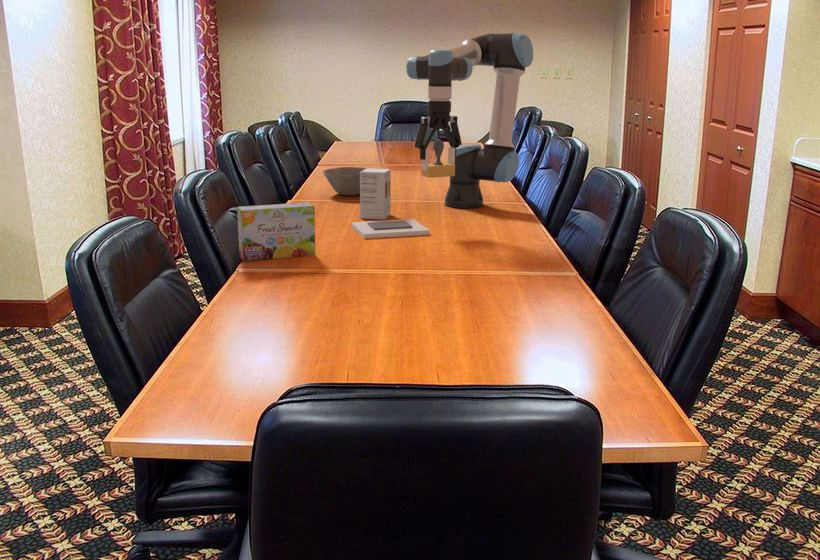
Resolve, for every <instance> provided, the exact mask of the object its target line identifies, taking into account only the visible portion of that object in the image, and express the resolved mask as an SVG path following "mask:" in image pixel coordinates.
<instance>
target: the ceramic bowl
mask: <svg viewBox="0 0 820 560" xmlns="http://www.w3.org/2000/svg"><path fill="white" fill-rule="evenodd" d="M365 169H370V167H369V168H366V167H360V166H359V167H358V166H356V167H355V166H345V167H343V166H341V167H334V168H328V169H327V168H326V169H324V170H322V173H323V175H324V176H325V178H326V180H327V181H328V183H329V184H330V186H331V188H332V189H333V191H335V192H336V193H337V194H338V195H342V196H358V195H360V172H361V171H363V170H365Z"/></svg>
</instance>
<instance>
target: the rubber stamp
mask: <svg viewBox="0 0 820 560" xmlns="http://www.w3.org/2000/svg"><path fill="white" fill-rule="evenodd" d="M432 145H433V146H432V147H433V151H434V154H435V159H436V161H435V162H434V163H428V170H422V169H420V170H421V171H420V173H421V175H420V176H423V177H426V178H429V179H431V178H432V179H433V178H446V177H450V176H455V165H453V164H449V163H448V162H443V163H442V160H441V156H442V155H443V151H444V149H445V144H444V141H443V140H442V139H440V138H439V139H435V141H434V142H433V144H432Z"/></svg>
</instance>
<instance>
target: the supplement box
mask: <svg viewBox="0 0 820 560" xmlns="http://www.w3.org/2000/svg"><path fill="white" fill-rule="evenodd" d="M391 179H392V178H391V169H390V168H389V169H388V168H369V169H365V170H363V171H361V172H360V194H359V195H360V196H359V200H360V201H359V202H360V203H359V205H360V206H359V209H360V210H359V211H360V213H359V215H360V216H359V218H360V219H368V220H369V219H371V220H382V221H385V220H386V219H387V218H388V217H389V216H391Z"/></svg>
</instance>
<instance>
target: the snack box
mask: <svg viewBox="0 0 820 560" xmlns="http://www.w3.org/2000/svg"><path fill="white" fill-rule="evenodd" d="M315 209H316V208H315V205H314V204H312V203H311V202H294V203H279V204H278V203H277V204H264V205H263V204H261V205H247V206H245V205H244V206H243V205H242V206H237V207H236V211H237V213H236V214H237V231H238V235H237V236H238V251H239V258H240V259H241V261H242V262H251V261H262V260H263V261H265V260H274V259H276V260H277V259H286V258H298V257H299V258H300V257H309V256H316V212H315V211H316V210H315Z"/></svg>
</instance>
